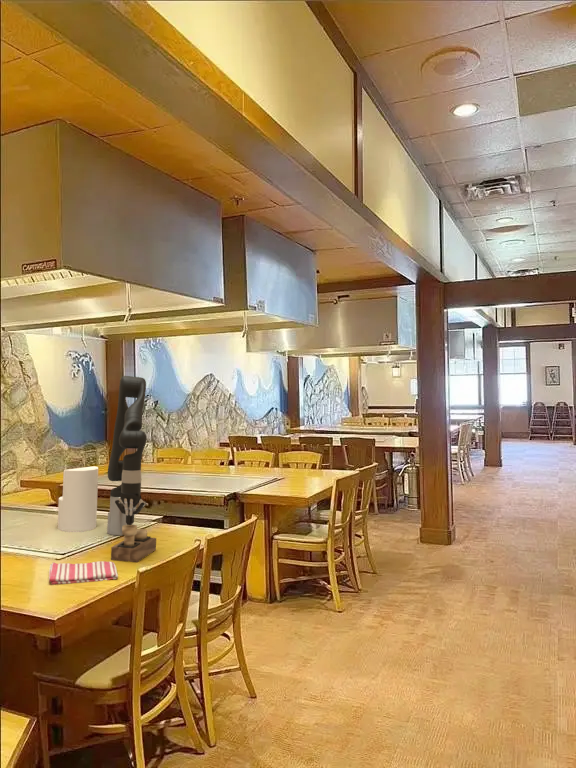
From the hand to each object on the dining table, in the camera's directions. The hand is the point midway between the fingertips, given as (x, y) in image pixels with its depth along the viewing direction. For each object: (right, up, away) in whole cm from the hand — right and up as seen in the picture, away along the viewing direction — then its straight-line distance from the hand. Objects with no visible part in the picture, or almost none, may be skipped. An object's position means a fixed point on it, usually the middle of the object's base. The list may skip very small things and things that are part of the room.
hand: (129, 524), depth 239 cm
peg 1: (0, -9, 0) cm, 9 cm away
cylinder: (-37, -12, +45) cm, 60 cm away
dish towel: (-11, -14, -22) cm, 28 cm away
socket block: (0, -13, +5) cm, 14 cm away
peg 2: (+1, -13, +10) cm, 17 cm away
